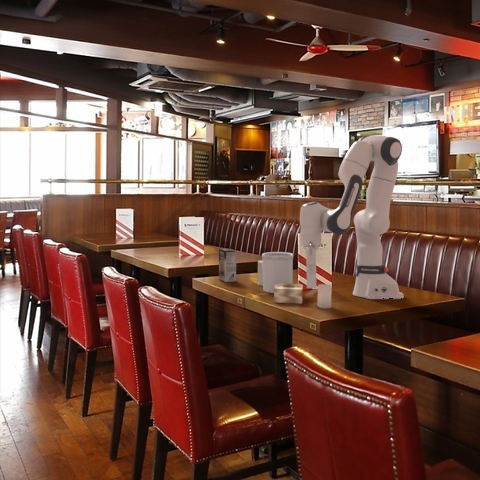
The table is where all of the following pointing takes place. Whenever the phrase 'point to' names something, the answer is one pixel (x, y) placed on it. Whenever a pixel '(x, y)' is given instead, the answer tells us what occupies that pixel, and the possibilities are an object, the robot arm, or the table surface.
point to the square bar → (311, 277)
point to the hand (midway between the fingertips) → (311, 272)
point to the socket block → (288, 293)
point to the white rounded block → (324, 296)
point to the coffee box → (227, 265)
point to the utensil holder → (276, 269)
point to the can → (260, 273)
